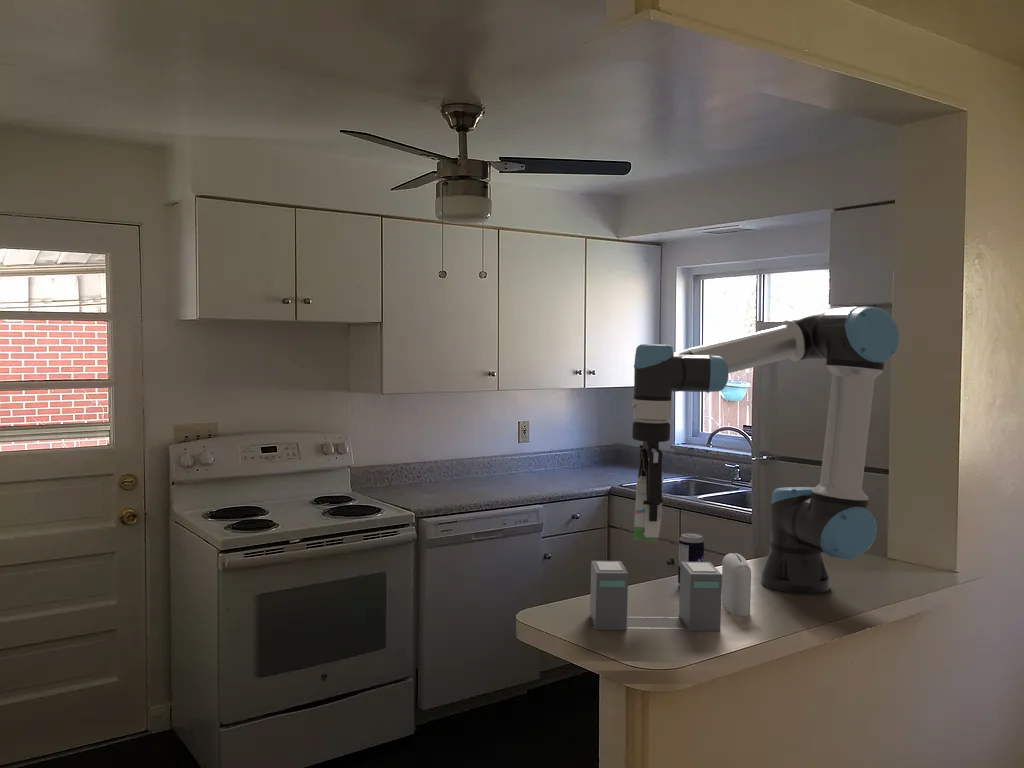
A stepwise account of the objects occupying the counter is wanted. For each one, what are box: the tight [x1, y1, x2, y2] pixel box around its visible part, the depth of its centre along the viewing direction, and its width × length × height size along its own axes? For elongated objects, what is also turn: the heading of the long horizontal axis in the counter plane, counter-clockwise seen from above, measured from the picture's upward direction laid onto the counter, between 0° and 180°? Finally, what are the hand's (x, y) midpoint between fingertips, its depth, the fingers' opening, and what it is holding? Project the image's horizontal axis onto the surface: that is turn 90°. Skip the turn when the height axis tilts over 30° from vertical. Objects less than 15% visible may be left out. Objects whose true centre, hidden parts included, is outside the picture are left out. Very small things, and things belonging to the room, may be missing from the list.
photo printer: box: [721, 552, 752, 617], centre depth 178 cm, size 10×4×12 cm, turn 0°
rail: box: [588, 615, 722, 631], centre depth 168 cm, size 25×8×1 cm, turn 91°
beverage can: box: [677, 532, 705, 585], centre depth 197 cm, size 6×6×12 cm
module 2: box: [678, 561, 722, 632], centre depth 168 cm, size 6×9×11 cm, turn 1°
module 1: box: [589, 560, 629, 631], centre depth 167 cm, size 6×9×11 cm, turn 1°
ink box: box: [632, 476, 664, 542], centre depth 173 cm, size 9×5×12 cm, turn 167°
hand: (647, 531), depth 173 cm, fingers closed on ink box, 9 cm apart
